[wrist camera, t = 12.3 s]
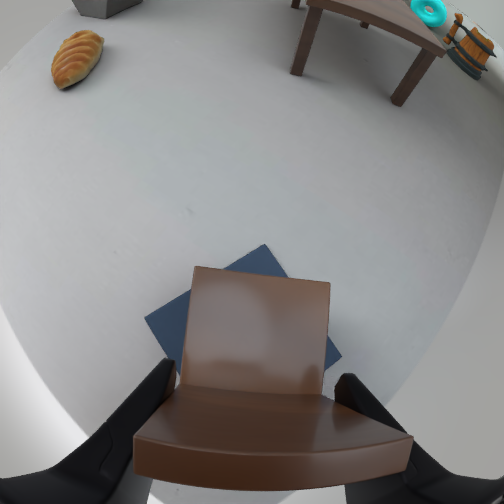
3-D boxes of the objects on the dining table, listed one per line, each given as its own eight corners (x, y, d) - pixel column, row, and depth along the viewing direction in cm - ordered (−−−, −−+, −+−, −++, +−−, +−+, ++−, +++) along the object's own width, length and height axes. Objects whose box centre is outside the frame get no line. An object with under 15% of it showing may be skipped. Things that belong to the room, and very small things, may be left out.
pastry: (99, 79, 22) (90, 53, 18) (46, 101, 21) (34, 78, 17) (106, 43, 24) (100, 21, 21) (61, 60, 23) (53, 40, 19)
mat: (341, 356, 17) (342, 356, 17) (225, 436, 14) (225, 437, 14) (264, 244, 18) (264, 243, 18) (144, 317, 16) (144, 317, 16)
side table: (404, 110, 25) (447, 51, 16) (286, 75, 24) (308, -6, 14) (367, 26, 32) (386, -15, 23) (288, 4, 31) (300, -42, 22)
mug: (480, 75, 37) (502, 48, 26) (478, 85, 34) (504, 54, 23) (439, 40, 39) (458, 10, 28) (432, 45, 36) (454, 10, 25)
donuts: (438, 28, 44) (451, 7, 34) (437, 34, 41) (452, 10, 31) (408, 9, 44) (420, -13, 35) (404, 13, 41) (417, -13, 32)
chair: (289, 392, 16) (406, 471, 4) (190, 383, 15) (132, 475, 4) (298, 299, 17) (423, 229, 6) (202, 287, 17) (169, 186, 5)
